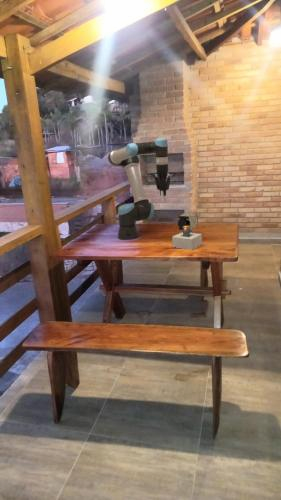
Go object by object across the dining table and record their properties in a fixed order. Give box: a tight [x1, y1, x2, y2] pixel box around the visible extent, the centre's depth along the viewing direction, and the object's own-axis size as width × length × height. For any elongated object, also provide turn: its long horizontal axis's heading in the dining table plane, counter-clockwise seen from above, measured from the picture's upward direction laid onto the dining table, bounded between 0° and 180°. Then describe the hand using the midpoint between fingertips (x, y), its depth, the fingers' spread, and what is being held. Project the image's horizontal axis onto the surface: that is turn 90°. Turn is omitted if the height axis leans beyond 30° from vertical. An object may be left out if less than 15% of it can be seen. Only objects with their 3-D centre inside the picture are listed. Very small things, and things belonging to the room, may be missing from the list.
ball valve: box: [177, 211, 199, 233], centre depth 263 cm, size 18×8×18 cm, turn 148°
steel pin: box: [182, 225, 190, 237], centre depth 244 cm, size 4×4×12 cm
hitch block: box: [171, 231, 203, 251], centre depth 245 cm, size 14×13×7 cm
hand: (163, 200), depth 249 cm, fingers closed
